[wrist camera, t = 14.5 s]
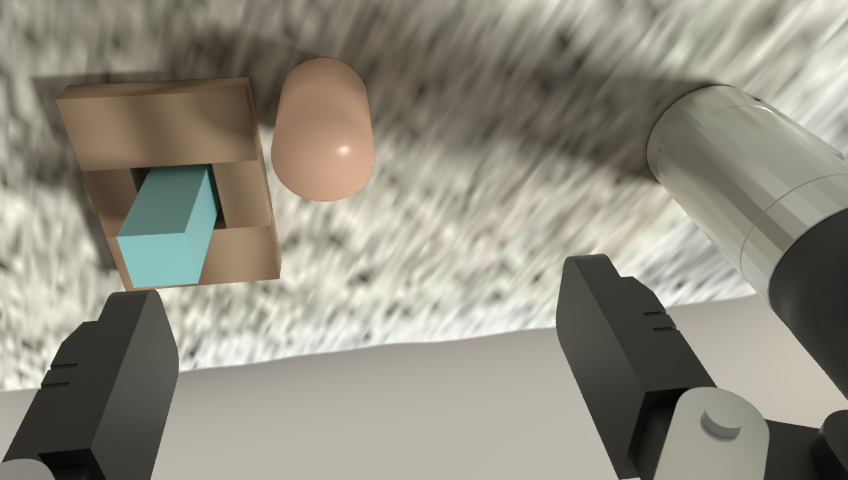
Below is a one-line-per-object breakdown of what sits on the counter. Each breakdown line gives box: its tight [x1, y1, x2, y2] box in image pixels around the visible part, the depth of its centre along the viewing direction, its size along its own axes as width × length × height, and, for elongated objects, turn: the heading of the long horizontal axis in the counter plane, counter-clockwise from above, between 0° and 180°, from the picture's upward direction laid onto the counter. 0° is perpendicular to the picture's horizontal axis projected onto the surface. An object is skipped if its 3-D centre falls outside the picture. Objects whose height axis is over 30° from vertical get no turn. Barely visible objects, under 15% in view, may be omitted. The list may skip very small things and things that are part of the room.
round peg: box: [271, 58, 375, 202], centre depth 41 cm, size 6×6×9 cm
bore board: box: [55, 77, 281, 291], centre depth 45 cm, size 12×16×2 cm
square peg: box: [117, 163, 220, 288], centre depth 42 cm, size 4×4×10 cm
